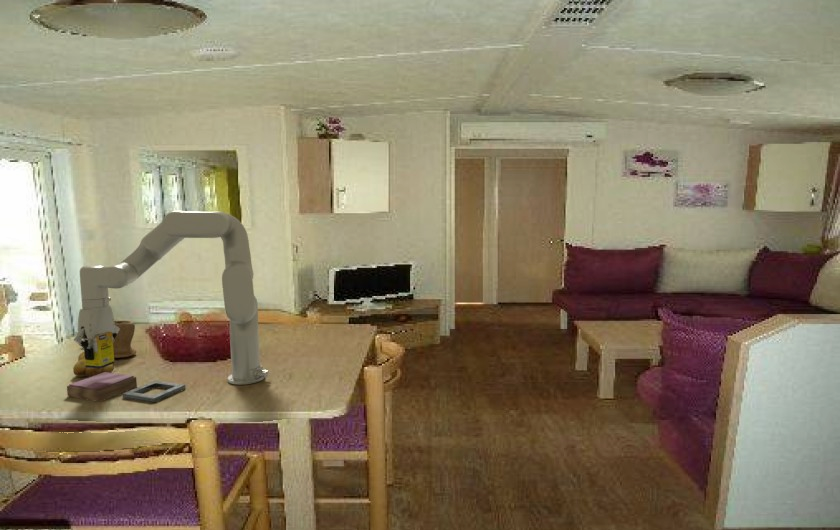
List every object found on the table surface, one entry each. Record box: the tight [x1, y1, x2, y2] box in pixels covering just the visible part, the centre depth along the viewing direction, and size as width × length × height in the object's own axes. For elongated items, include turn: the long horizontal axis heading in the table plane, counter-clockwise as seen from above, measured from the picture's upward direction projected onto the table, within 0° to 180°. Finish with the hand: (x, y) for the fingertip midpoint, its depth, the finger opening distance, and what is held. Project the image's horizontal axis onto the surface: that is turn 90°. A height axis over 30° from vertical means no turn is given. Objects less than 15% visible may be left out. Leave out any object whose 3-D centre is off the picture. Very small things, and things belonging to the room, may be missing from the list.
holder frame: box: [122, 380, 186, 404], centre depth 170 cm, size 13×13×2 cm
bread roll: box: [72, 351, 114, 378], centre depth 190 cm, size 13×10×8 cm
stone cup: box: [113, 320, 138, 359], centre depth 212 cm, size 15×12×15 cm
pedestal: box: [66, 372, 138, 402], centre depth 172 cm, size 14×14×4 cm
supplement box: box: [82, 332, 115, 368], centre depth 171 cm, size 6×6×11 cm
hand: (99, 356), depth 171 cm, fingers closed on supplement box, 6 cm apart
